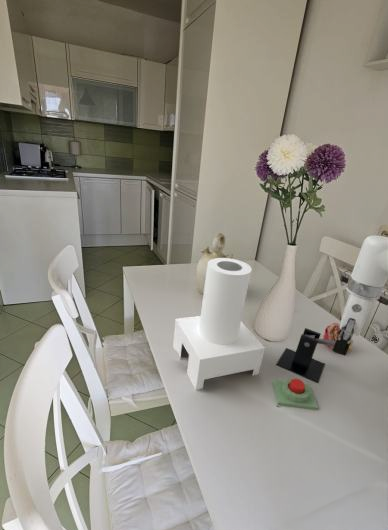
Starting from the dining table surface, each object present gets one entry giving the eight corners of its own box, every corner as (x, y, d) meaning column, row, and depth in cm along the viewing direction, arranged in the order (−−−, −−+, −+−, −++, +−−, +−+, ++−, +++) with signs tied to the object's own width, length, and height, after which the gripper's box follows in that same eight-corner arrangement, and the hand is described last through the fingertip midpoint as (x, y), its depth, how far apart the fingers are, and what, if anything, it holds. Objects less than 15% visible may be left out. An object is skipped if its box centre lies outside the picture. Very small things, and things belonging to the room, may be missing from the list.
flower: (309, 338, 102) (326, 329, 95) (323, 325, 107) (340, 316, 100) (328, 362, 100) (347, 355, 94) (342, 347, 105) (360, 340, 98)
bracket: (323, 366, 92) (336, 334, 86) (316, 385, 84) (330, 351, 79) (285, 350, 97) (294, 319, 92) (275, 367, 89) (285, 334, 84)
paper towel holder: (195, 390, 78) (210, 285, 64) (173, 346, 93) (181, 253, 79) (257, 376, 85) (283, 279, 71) (227, 337, 100) (243, 251, 86)
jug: (187, 287, 130) (192, 230, 118) (212, 280, 140) (220, 226, 128) (212, 302, 120) (221, 242, 109) (237, 293, 130) (248, 236, 118)
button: (301, 384, 79) (303, 379, 78) (304, 394, 76) (306, 389, 75) (287, 382, 79) (289, 377, 79) (290, 393, 76) (292, 387, 75)
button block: (307, 388, 83) (311, 379, 81) (316, 412, 76) (320, 402, 74) (271, 384, 83) (274, 374, 81) (276, 407, 76) (279, 397, 74)
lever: (352, 345, 83) (353, 337, 82) (350, 354, 79) (351, 346, 78) (306, 338, 89) (306, 331, 88) (302, 346, 85) (302, 339, 84)
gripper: (379, 305, 66) (352, 366, 74) (383, 281, 79) (359, 335, 87) (343, 294, 69) (320, 354, 77) (352, 272, 82) (332, 325, 90)
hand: (341, 344), depth 82 cm, fingers open, 9 cm apart
